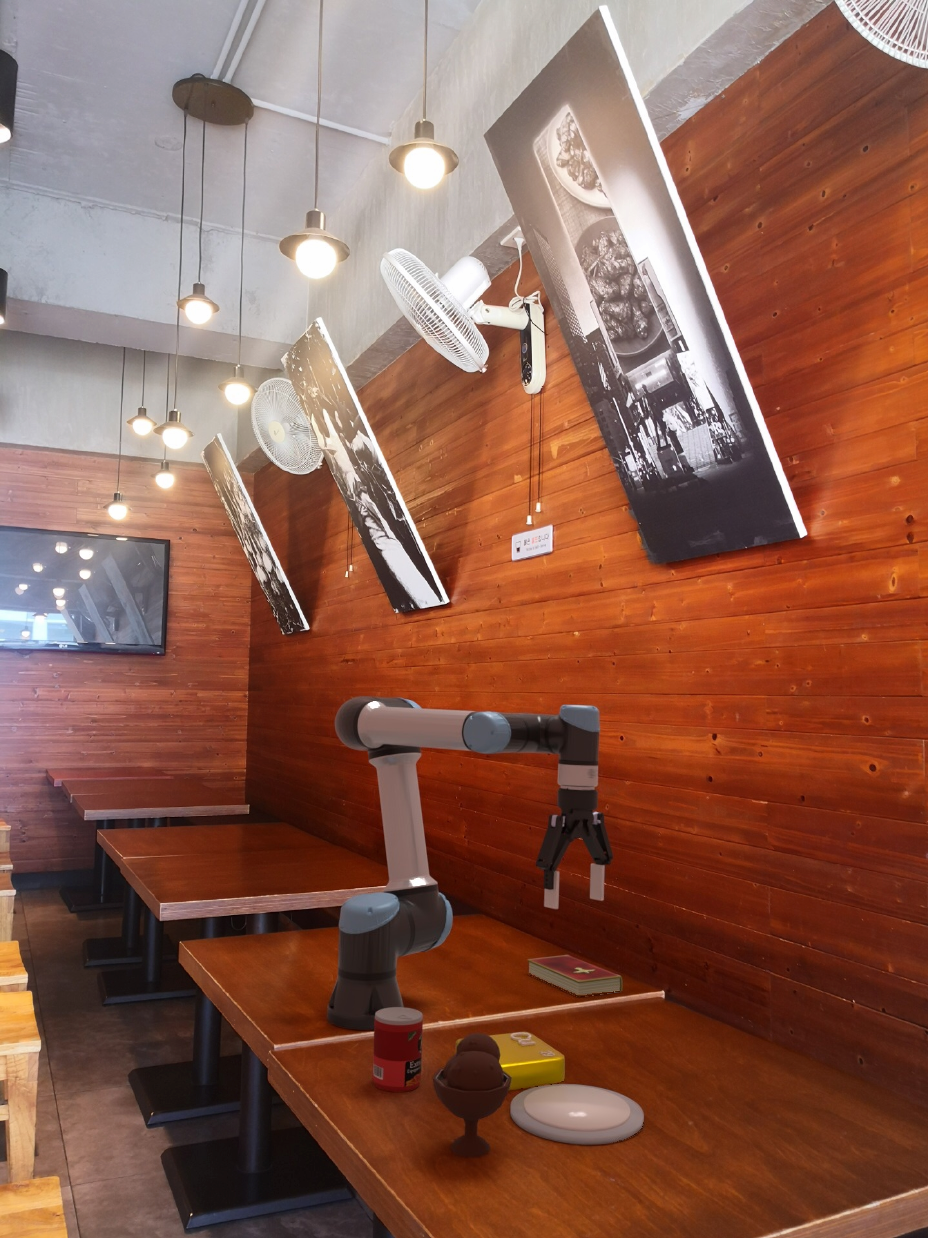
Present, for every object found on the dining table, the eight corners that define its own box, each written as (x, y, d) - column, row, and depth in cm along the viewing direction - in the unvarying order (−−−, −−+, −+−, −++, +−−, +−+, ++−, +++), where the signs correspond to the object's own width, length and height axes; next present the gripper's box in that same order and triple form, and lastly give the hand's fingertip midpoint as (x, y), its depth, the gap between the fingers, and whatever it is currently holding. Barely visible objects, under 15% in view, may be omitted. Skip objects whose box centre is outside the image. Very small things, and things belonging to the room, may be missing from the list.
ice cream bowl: (428, 1132, 138) (431, 1024, 139) (505, 1132, 139) (507, 1024, 140) (432, 1167, 127) (435, 1049, 129) (515, 1166, 128) (517, 1049, 130)
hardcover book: (568, 971, 232) (568, 953, 233) (622, 994, 214) (622, 974, 214) (526, 976, 226) (527, 958, 227) (578, 1000, 208) (578, 980, 209)
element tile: (451, 1064, 167) (451, 1036, 167) (528, 1055, 172) (528, 1027, 173) (486, 1096, 153) (487, 1065, 153) (569, 1085, 159) (569, 1055, 159)
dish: (489, 1126, 140) (489, 1116, 140) (537, 1082, 158) (538, 1072, 158) (622, 1156, 132) (623, 1144, 132) (657, 1105, 150) (657, 1095, 150)
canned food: (414, 1095, 151) (416, 1023, 153) (366, 1090, 153) (368, 1018, 154) (426, 1078, 159) (428, 1009, 160) (379, 1073, 160) (382, 1005, 162)
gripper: (550, 791, 168) (547, 915, 166) (632, 787, 186) (630, 899, 184) (518, 787, 173) (514, 907, 171) (601, 784, 191) (598, 893, 189)
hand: (574, 903), depth 177 cm, fingers open, 13 cm apart
